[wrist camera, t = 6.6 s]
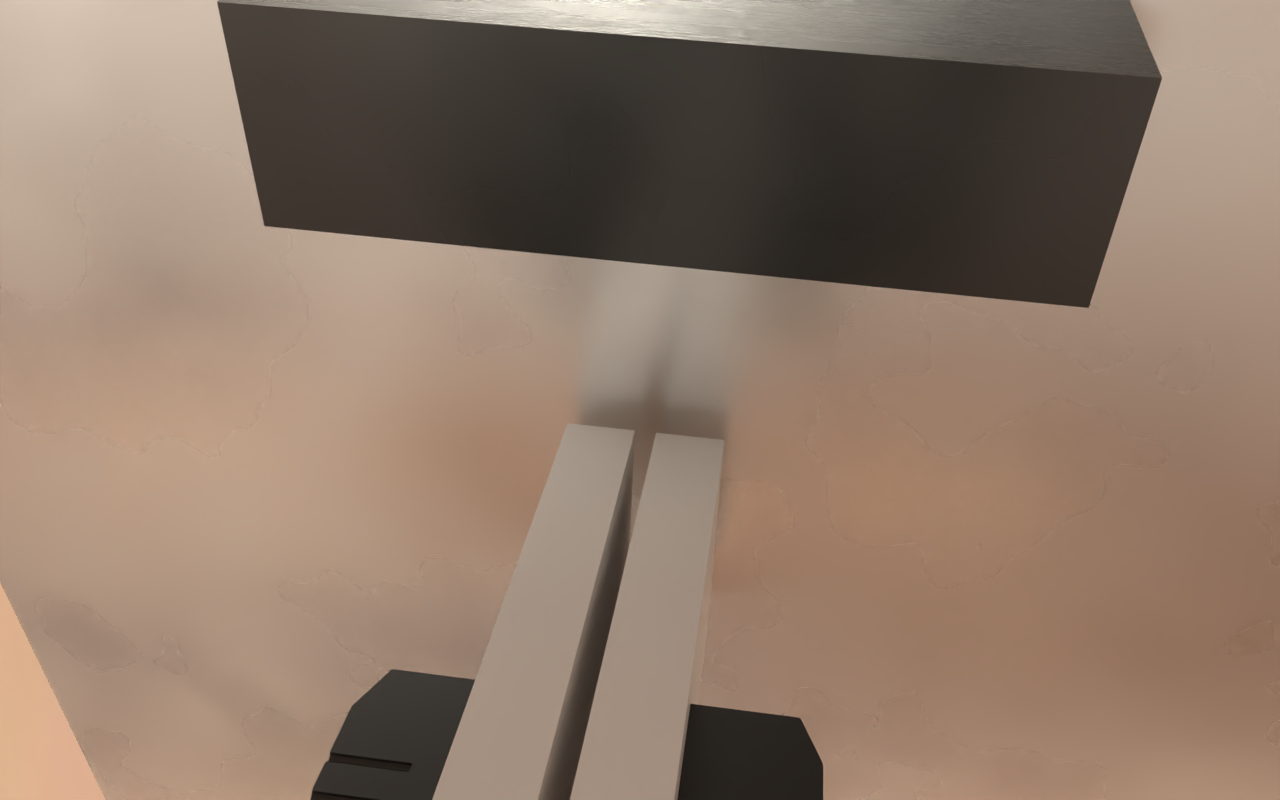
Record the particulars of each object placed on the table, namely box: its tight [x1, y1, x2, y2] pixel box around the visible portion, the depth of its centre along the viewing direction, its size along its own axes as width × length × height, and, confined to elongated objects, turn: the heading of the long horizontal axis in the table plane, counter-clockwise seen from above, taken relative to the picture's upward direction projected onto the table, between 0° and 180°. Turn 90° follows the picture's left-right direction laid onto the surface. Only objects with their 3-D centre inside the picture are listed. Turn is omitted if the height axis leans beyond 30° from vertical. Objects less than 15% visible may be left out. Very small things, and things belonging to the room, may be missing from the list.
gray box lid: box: [0, 0, 1280, 800], centre depth 16 cm, size 20×19×3 cm
